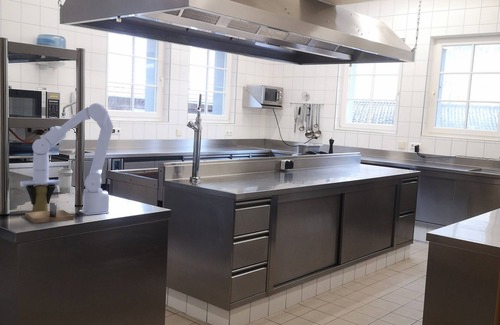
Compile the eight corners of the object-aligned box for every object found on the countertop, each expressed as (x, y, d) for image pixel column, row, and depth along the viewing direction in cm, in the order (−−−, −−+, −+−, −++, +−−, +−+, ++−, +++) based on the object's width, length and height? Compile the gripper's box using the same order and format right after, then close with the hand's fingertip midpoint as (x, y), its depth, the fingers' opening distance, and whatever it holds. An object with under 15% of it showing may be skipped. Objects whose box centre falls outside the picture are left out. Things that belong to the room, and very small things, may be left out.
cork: (51, 212, 193) (51, 185, 192) (36, 214, 189) (36, 186, 188) (44, 210, 197) (44, 183, 196) (29, 211, 193) (29, 184, 192)
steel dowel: (55, 215, 182) (55, 202, 182) (57, 216, 180) (57, 203, 180) (48, 216, 181) (48, 202, 180) (50, 217, 179) (50, 203, 179)
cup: (63, 195, 232) (63, 170, 230) (54, 193, 235) (54, 169, 234) (75, 194, 238) (76, 169, 237) (66, 192, 241) (67, 168, 240)
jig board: (62, 213, 193) (62, 209, 193) (73, 219, 184) (73, 215, 184) (25, 216, 185) (25, 212, 184) (34, 223, 175) (34, 218, 175)
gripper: (56, 168, 199) (56, 200, 201) (18, 168, 190) (17, 203, 191) (62, 170, 194) (61, 203, 195) (23, 171, 185) (22, 206, 186)
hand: (40, 203), depth 193 cm, fingers closed on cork, 5 cm apart
